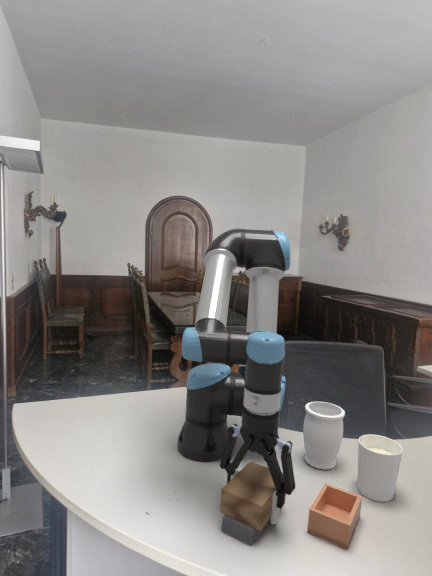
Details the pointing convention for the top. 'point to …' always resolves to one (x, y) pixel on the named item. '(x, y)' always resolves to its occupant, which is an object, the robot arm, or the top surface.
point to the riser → (240, 530)
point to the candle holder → (378, 467)
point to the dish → (334, 515)
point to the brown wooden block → (249, 496)
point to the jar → (322, 434)
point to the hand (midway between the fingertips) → (253, 510)
